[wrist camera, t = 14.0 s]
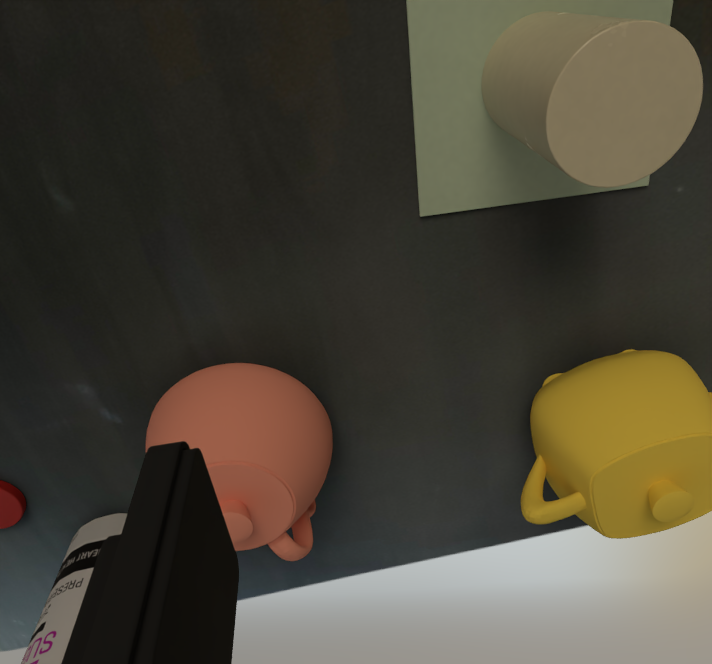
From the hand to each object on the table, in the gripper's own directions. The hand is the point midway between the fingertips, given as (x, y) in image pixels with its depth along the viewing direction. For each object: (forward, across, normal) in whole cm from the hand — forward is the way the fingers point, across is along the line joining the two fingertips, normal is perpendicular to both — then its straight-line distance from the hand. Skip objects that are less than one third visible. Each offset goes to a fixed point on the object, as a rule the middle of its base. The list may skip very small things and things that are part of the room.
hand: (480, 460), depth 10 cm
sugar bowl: (+27, +10, +20) cm, 35 cm away
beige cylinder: (+27, -11, -1) cm, 29 cm away
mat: (+27, -11, -1) cm, 29 cm away
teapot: (+27, -16, +22) cm, 38 cm away
